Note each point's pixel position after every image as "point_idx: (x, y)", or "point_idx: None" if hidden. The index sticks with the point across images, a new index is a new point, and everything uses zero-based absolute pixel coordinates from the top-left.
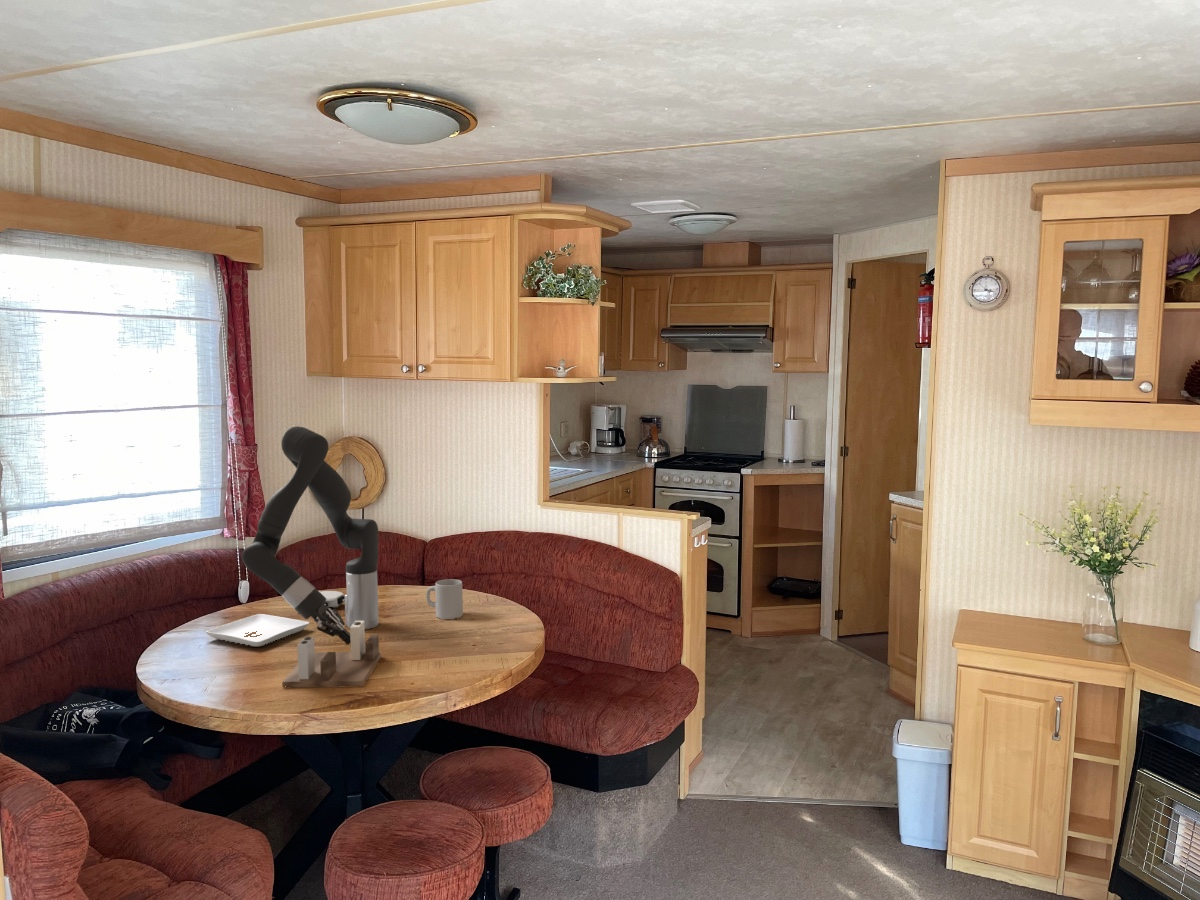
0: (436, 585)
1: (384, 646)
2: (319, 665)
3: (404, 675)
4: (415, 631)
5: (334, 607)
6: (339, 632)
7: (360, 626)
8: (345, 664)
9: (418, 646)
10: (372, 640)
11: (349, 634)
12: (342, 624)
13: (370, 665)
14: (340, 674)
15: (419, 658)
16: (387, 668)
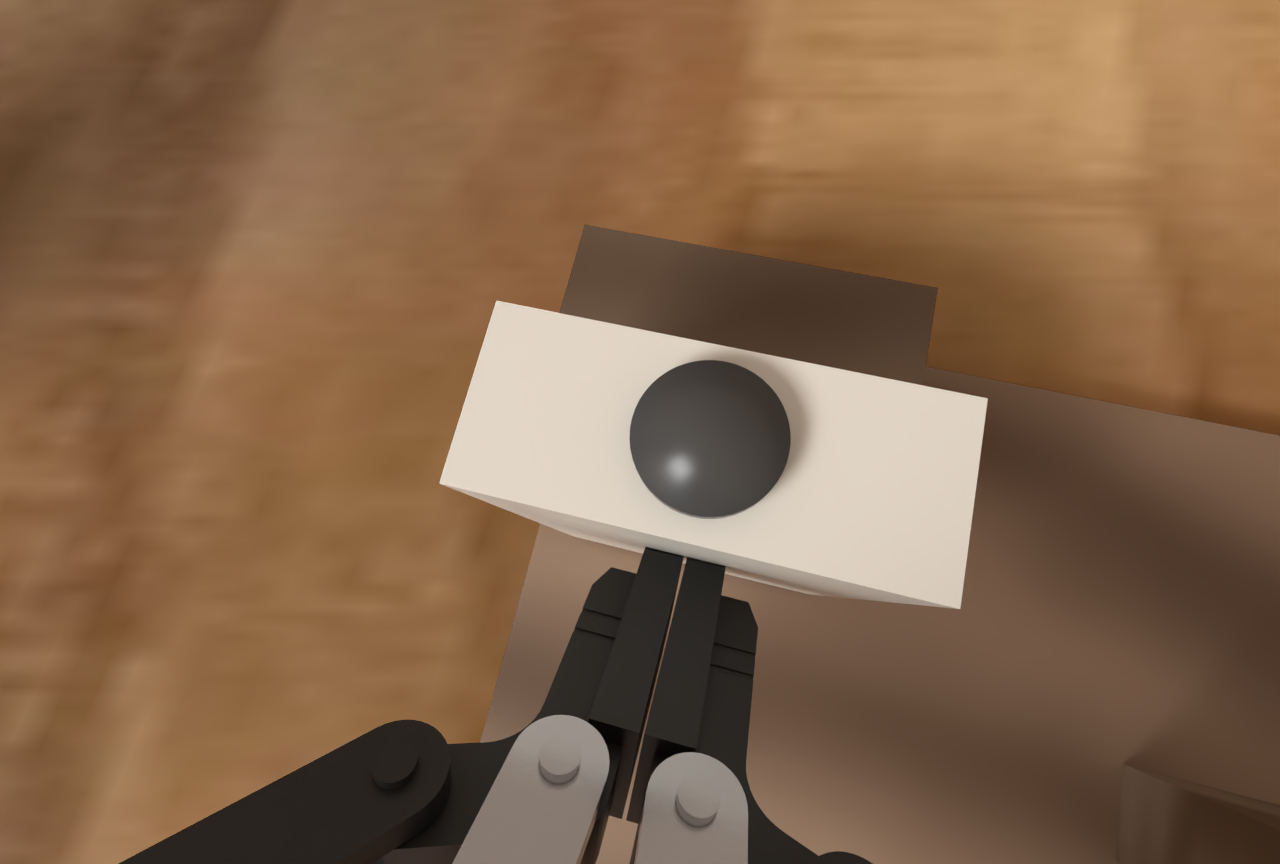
0: None
1: (325, 298)
2: None
3: (1129, 146)
4: (50, 72)
5: None
6: (756, 830)
7: (844, 379)
8: (918, 655)
9: (427, 51)
10: (818, 293)
11: (666, 616)
12: (495, 786)
13: (996, 398)
14: (1259, 714)
15: (723, 43)
16: (923, 274)
